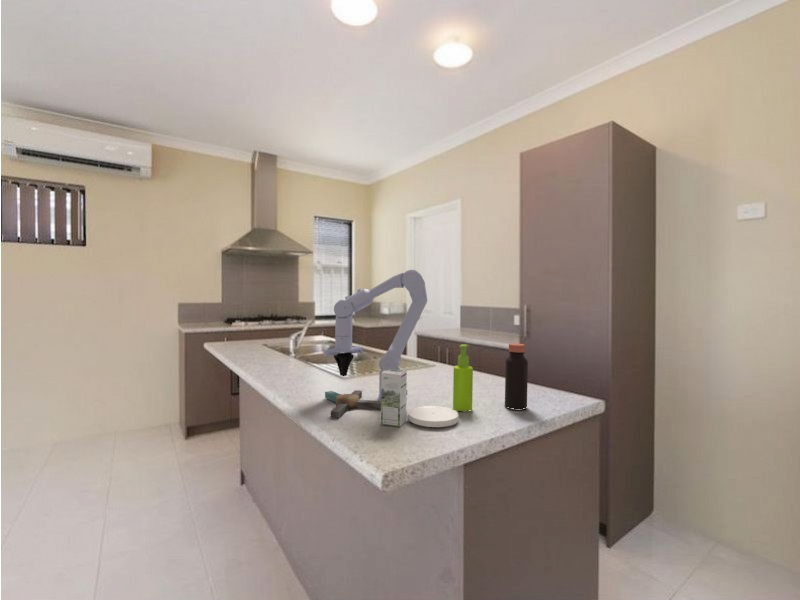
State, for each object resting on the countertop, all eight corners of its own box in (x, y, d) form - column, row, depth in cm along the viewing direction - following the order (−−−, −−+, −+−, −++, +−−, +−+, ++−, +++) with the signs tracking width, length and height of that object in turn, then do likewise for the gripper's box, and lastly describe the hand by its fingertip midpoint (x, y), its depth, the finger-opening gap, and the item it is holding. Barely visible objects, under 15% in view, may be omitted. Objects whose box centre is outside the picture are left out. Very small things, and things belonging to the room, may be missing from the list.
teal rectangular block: (344, 401, 127) (344, 395, 127) (337, 403, 126) (337, 397, 126) (331, 396, 133) (331, 390, 133) (325, 397, 132) (325, 391, 132)
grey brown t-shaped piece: (392, 398, 133) (392, 389, 133) (376, 421, 110) (376, 410, 109) (348, 395, 136) (348, 387, 136) (323, 417, 112) (323, 407, 112)
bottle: (530, 407, 125) (532, 344, 124) (520, 412, 120) (522, 346, 119) (510, 403, 129) (512, 342, 129) (500, 407, 124) (501, 344, 124)
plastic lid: (419, 411, 120) (419, 403, 120) (464, 418, 114) (464, 409, 114) (400, 425, 107) (400, 416, 107) (449, 434, 101) (449, 424, 101)
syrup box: (406, 421, 110) (407, 369, 110) (399, 427, 105) (400, 373, 104) (387, 418, 112) (388, 368, 112) (379, 425, 106) (380, 371, 106)
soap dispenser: (475, 407, 124) (476, 344, 124) (469, 413, 118) (470, 346, 118) (457, 404, 127) (458, 342, 126) (450, 410, 121) (451, 345, 120)
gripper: (355, 333, 141) (354, 370, 142) (318, 335, 132) (318, 376, 132) (366, 335, 136) (366, 374, 136) (329, 337, 127) (329, 379, 127)
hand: (343, 375), depth 134 cm, fingers closed
